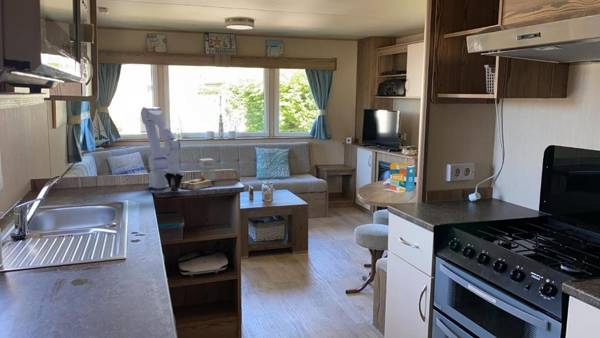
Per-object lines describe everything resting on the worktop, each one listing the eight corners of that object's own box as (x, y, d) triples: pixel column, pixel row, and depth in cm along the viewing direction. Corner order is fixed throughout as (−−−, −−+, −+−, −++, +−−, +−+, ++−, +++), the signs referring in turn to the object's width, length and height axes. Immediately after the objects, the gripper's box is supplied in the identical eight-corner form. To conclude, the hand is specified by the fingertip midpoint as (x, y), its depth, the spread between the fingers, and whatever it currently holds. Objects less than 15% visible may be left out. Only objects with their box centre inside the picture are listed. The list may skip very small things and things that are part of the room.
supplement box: (199, 179, 282) (198, 158, 280) (211, 178, 285) (210, 157, 283) (203, 181, 275) (202, 160, 273) (215, 180, 279) (214, 159, 277)
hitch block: (181, 187, 259) (181, 182, 258) (198, 183, 270) (198, 178, 269) (195, 189, 253) (194, 184, 253) (211, 185, 264) (211, 180, 264)
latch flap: (197, 175, 264) (197, 174, 264) (201, 179, 266) (201, 178, 267) (201, 176, 262) (202, 175, 262) (205, 179, 265) (205, 178, 265)
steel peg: (169, 190, 251) (168, 177, 250) (174, 189, 254) (174, 176, 253) (174, 191, 249) (173, 178, 248) (179, 190, 252) (178, 177, 251)
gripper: (157, 162, 250) (159, 187, 252) (177, 164, 242) (178, 190, 244) (167, 160, 256) (169, 185, 258) (187, 162, 248) (188, 187, 250)
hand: (174, 187), depth 251 cm, fingers open, 4 cm apart
